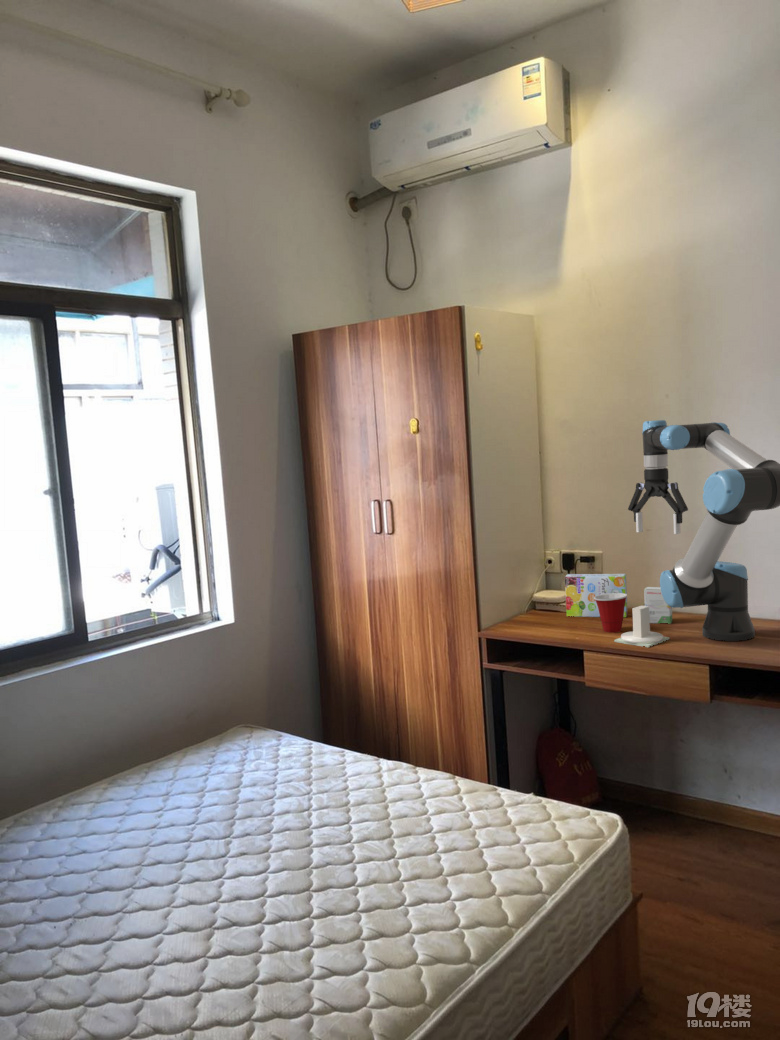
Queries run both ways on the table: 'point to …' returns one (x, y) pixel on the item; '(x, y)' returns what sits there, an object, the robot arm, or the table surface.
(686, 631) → the table surface
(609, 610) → the plastic cup
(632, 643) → the mat
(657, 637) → the lid
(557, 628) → the table surface
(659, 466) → the robot arm
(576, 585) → the snack box
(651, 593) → the ink box
